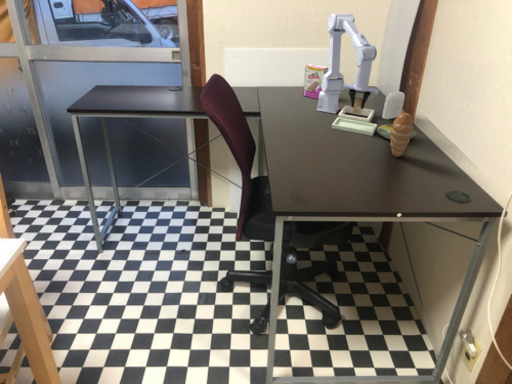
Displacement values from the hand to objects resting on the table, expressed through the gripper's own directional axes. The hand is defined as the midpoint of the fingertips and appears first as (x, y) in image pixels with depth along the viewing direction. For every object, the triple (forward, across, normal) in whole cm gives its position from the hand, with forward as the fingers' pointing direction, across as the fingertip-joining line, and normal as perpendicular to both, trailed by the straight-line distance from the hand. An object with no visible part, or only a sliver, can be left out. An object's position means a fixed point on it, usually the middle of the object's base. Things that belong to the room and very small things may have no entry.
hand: (357, 107), depth 177 cm
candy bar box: (+10, -29, +34) cm, 45 cm away
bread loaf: (+2, 0, 0) cm, 2 cm away
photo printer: (+10, +13, +23) cm, 28 cm away
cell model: (+10, +18, -2) cm, 21 cm away
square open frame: (+9, -2, +13) cm, 16 cm away
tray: (+9, 0, 0) cm, 9 cm away
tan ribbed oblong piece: (+10, +21, -21) cm, 31 cm away
